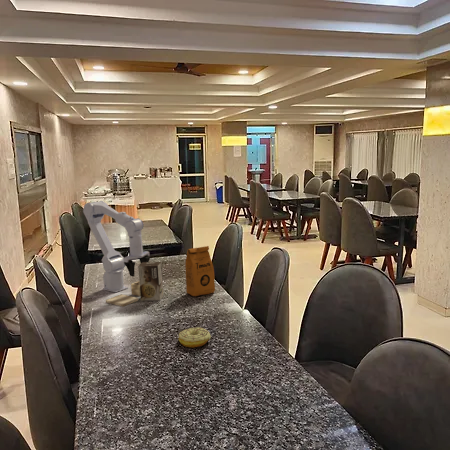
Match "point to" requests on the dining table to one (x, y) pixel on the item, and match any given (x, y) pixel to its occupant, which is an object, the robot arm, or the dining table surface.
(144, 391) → the dining table surface
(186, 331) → the decorated donut
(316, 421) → the dining table surface
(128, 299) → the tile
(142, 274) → the coffee box
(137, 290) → the letter block
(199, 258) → the coffee package
